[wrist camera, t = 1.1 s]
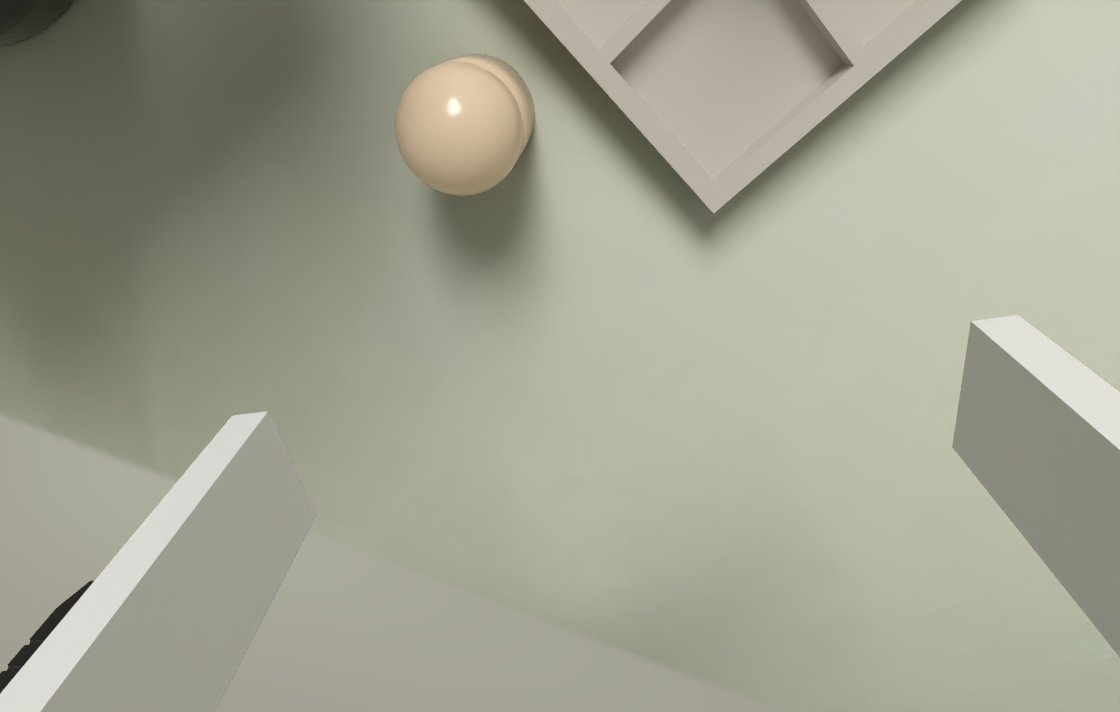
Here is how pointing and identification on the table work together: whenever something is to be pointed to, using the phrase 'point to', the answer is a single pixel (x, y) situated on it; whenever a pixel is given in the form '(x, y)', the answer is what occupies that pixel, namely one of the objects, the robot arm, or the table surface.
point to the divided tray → (733, 71)
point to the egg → (464, 123)
